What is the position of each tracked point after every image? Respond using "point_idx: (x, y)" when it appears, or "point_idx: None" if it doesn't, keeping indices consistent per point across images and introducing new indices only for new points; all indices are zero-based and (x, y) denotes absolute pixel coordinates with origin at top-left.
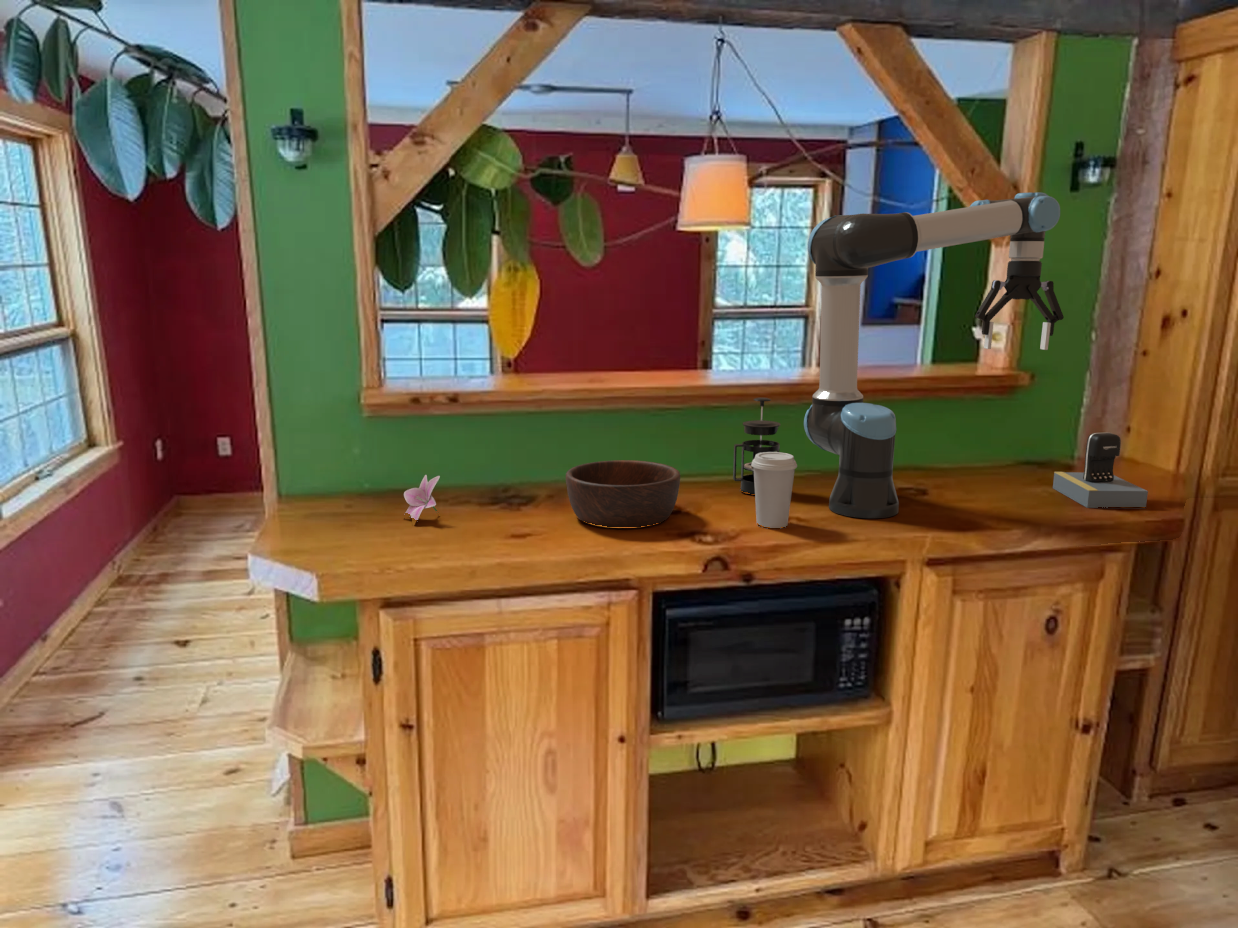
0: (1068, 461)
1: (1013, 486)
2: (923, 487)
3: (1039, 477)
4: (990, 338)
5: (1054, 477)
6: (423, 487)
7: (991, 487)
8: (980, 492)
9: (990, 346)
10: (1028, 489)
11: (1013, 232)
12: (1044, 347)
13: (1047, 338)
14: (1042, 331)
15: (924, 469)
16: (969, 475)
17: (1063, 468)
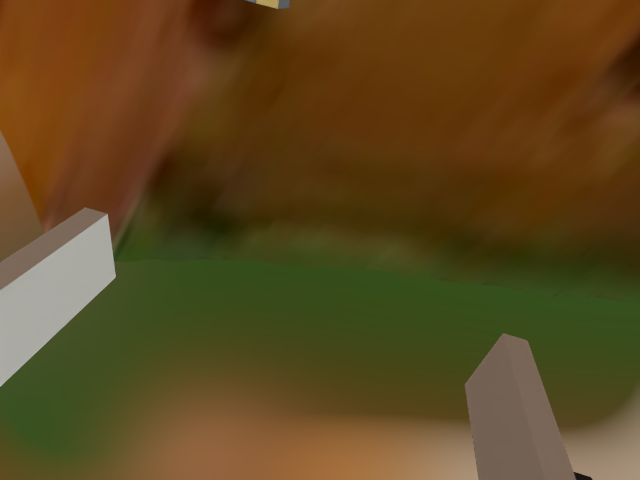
0: (142, 217)
1: (369, 48)
2: (598, 90)
3: (260, 116)
4: (538, 414)
5: (281, 4)
6: None
7: (429, 50)
8: (497, 3)
9: (513, 351)
10: (353, 9)
11: None
12: (96, 228)
13: (22, 261)
14: (8, 369)
15: (455, 237)
16: (398, 169)
17: (175, 173)
